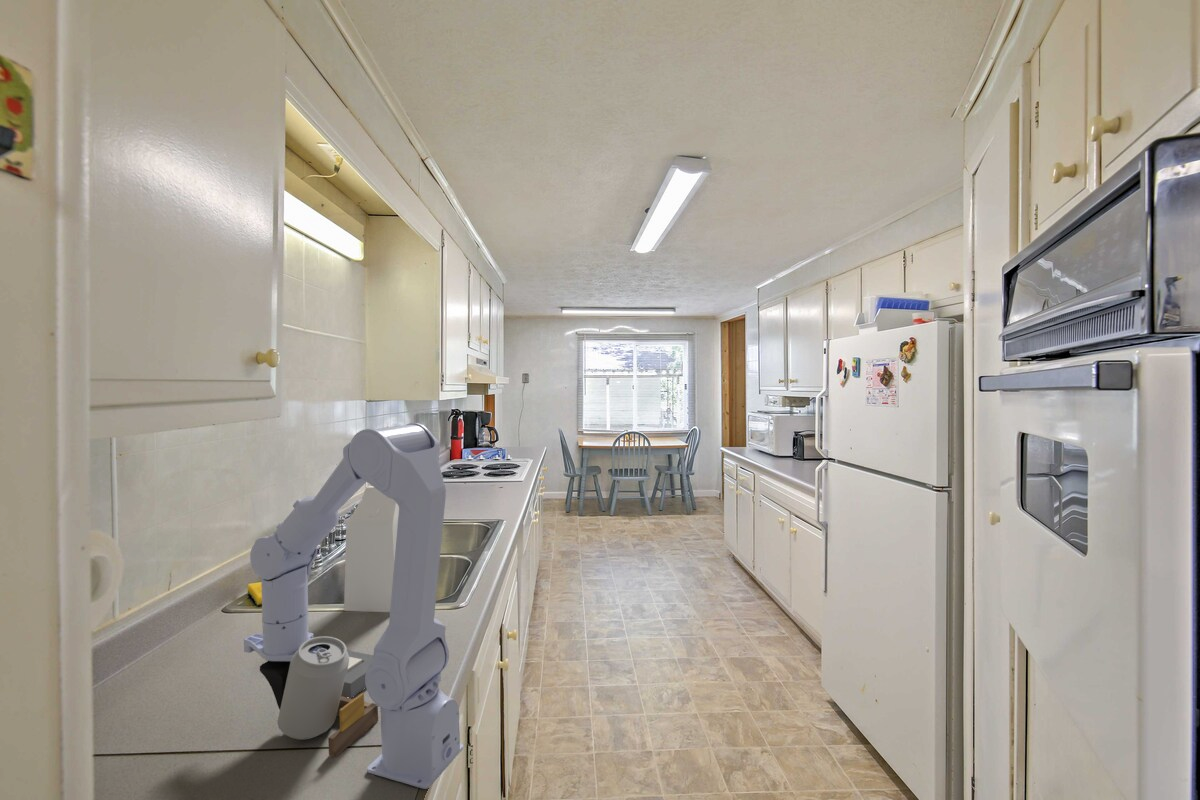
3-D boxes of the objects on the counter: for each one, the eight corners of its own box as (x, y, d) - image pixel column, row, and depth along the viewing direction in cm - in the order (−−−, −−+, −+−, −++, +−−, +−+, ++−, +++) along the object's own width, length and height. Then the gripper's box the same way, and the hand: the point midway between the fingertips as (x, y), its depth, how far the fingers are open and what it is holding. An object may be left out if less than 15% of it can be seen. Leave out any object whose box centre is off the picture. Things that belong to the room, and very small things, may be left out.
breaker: (362, 672, 91) (362, 659, 91) (345, 683, 88) (345, 670, 88) (345, 668, 92) (345, 655, 92) (328, 679, 89) (328, 666, 89)
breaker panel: (387, 672, 92) (386, 654, 92) (351, 699, 85) (350, 679, 84) (341, 662, 96) (340, 645, 95) (303, 687, 88) (302, 668, 88)
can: (322, 696, 82) (338, 626, 81) (343, 729, 78) (361, 656, 76) (268, 716, 76) (284, 640, 75) (287, 753, 72) (305, 673, 70)
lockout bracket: (378, 720, 79) (377, 684, 79) (334, 757, 72) (333, 717, 71) (325, 707, 82) (324, 672, 82) (278, 741, 75) (277, 702, 75)
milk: (419, 591, 127) (416, 481, 126) (396, 612, 116) (393, 492, 115) (371, 589, 128) (368, 481, 127) (343, 610, 117) (339, 492, 116)
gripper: (346, 611, 79) (348, 701, 80) (273, 596, 84) (275, 681, 84) (305, 633, 72) (307, 731, 73) (228, 615, 77) (231, 707, 78)
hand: (287, 706), depth 78 cm, fingers closed, pressing on can
